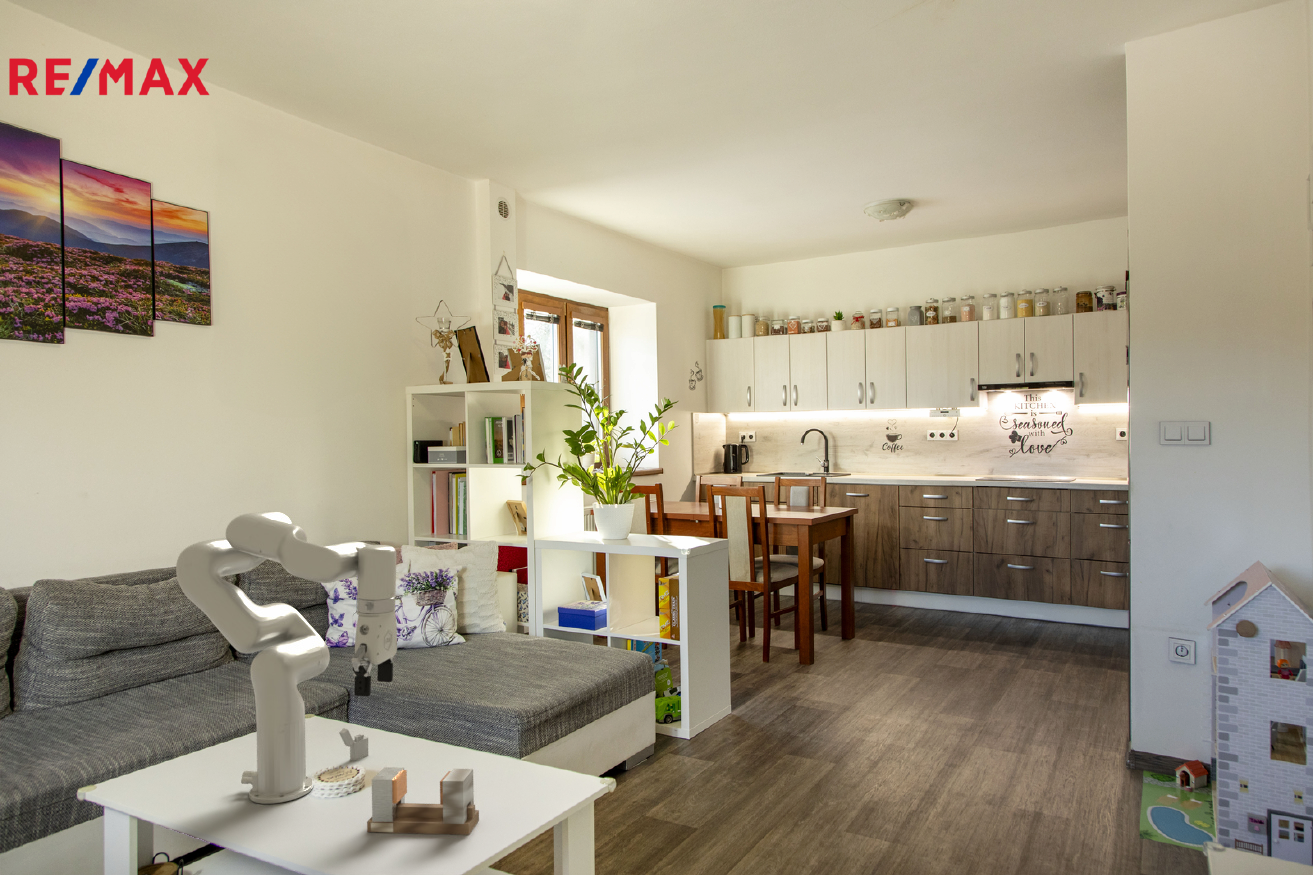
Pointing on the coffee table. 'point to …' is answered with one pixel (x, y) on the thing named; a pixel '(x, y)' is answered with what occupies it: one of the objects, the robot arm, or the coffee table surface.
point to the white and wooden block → (388, 793)
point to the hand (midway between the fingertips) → (374, 688)
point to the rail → (437, 810)
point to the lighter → (355, 744)
